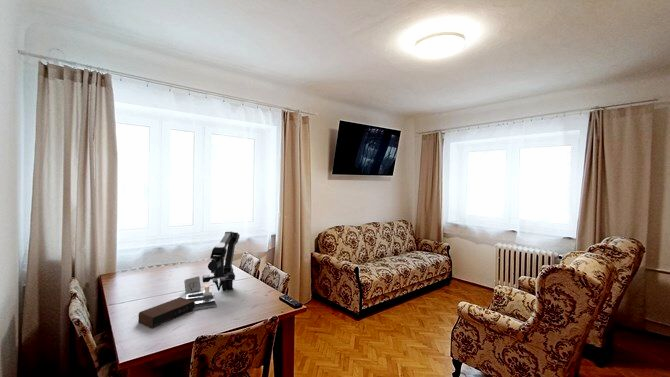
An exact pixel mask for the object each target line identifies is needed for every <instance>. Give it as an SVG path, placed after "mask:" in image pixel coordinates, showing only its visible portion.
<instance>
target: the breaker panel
mask: <svg viewBox="0 0 670 377" xmlns="http://www.w3.org/2000/svg"><path fill="white" fill-rule="evenodd" d="M215 298H216V297H215V293H214V290H213V289H211V295H205V296H203V291H196V292H192V293H189V294H187V293H185V299H188V300H191V301H194V302H195V306H200V305H206V304H213V303H216V299H215Z"/></svg>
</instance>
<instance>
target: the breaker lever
mask: <svg viewBox="0 0 670 377" xmlns="http://www.w3.org/2000/svg"><path fill="white" fill-rule="evenodd" d="M211 290H212V289H211V288H210V285H209V284H206V285H204V290H202V292H203V296H205V295H211Z"/></svg>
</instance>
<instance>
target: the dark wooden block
mask: <svg viewBox="0 0 670 377" xmlns="http://www.w3.org/2000/svg"><path fill="white" fill-rule="evenodd" d="M185 298H186V297H185ZM185 298H184V297H181V296H179V297H177V298H174V299H172V300H171V299H170V300H169V301H166V302H164V303H161V304H158V305H155V306H151V307H150V308H147V309H145V310H144V309H143V310H142V311H140V312H138V324H141V325H142V326H145V327H148V328H150V329H154V328H156V327H159V326H161V325H164V324H165V323H168V322H170V321H172V320H175V319H177V318H180V317H183V316H184V315H187V314H189V313H191V312H193V311H195V310H193V309H194V308H195V302H194V301H191V300H188V299H185Z"/></svg>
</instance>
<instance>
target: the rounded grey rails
mask: <svg viewBox="0 0 670 377" xmlns="http://www.w3.org/2000/svg"><path fill="white" fill-rule="evenodd" d="M216 307H217V303H216V302H215V303H213V304H206V305H200V306H195V308H194V309H193V310H194V311H199V310H205V309H211V308H216Z"/></svg>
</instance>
